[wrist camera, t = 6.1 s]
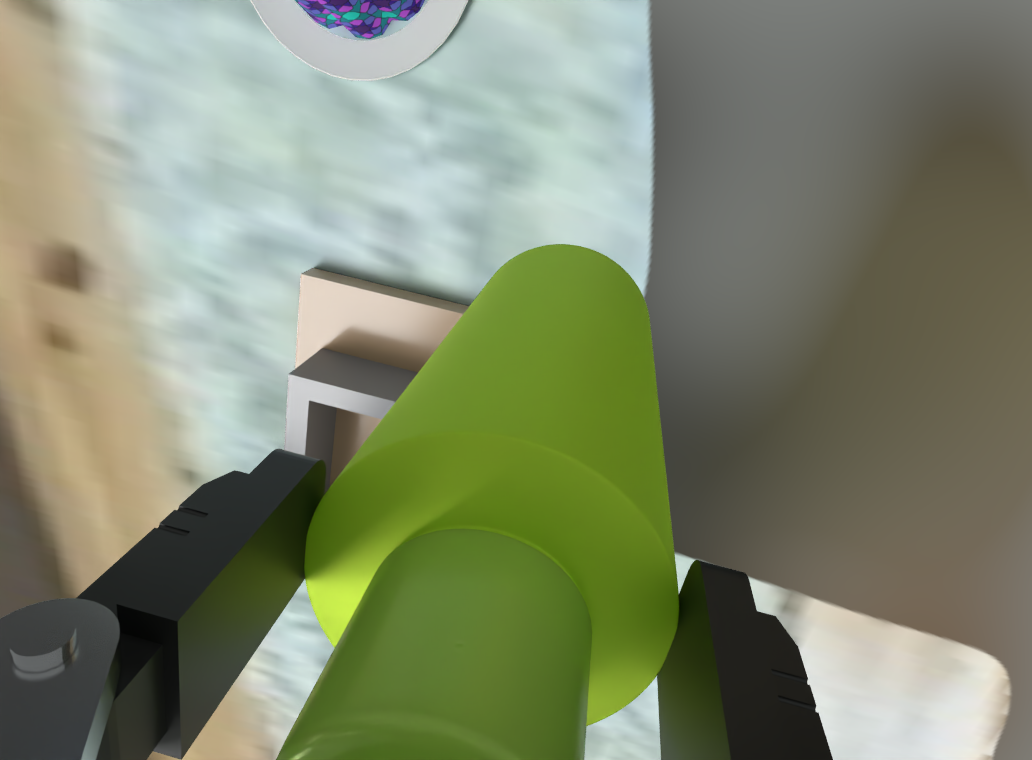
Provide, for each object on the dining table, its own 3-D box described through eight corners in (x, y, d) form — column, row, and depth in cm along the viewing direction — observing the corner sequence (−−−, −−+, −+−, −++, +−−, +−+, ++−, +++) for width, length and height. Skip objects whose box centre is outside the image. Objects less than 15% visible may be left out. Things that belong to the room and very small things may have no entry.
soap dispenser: (694, 253, 20) (1302, 1590, 2) (608, 433, 23) (541, 1654, 5) (519, 184, 20) (-424, 906, 2) (454, 373, 23) (-178, 1367, 5)
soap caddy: (313, 267, 37) (263, 292, 32) (551, 326, 36) (538, 361, 31) (293, 544, 45) (251, 598, 40) (487, 598, 44) (469, 660, 39)
